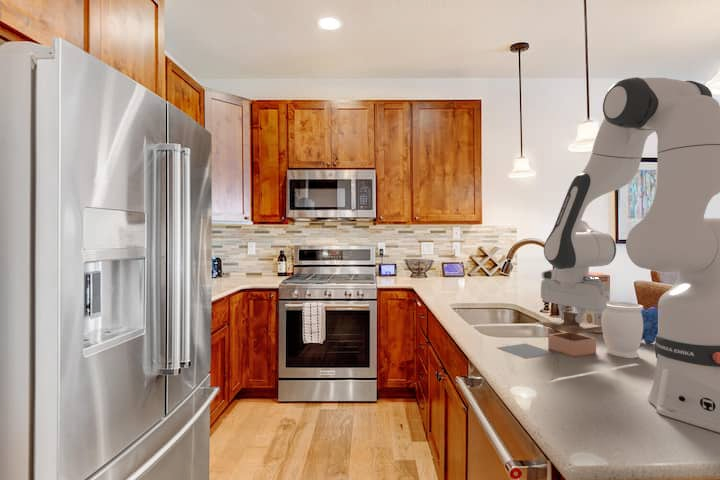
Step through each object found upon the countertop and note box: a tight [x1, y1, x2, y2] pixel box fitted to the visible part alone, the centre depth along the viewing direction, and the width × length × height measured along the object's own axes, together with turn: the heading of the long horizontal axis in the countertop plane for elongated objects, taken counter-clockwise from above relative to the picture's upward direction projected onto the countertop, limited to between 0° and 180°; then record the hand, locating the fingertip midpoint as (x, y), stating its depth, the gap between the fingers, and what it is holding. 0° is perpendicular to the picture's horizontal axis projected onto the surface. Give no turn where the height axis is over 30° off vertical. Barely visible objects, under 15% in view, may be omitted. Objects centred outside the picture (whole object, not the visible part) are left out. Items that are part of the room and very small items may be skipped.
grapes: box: [641, 306, 658, 345], centre depth 133 cm, size 12×7×12 cm, turn 49°
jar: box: [601, 301, 644, 359], centre depth 121 cm, size 11×10×15 cm
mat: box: [497, 343, 558, 360], centre depth 124 cm, size 12×12×1 cm
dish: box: [547, 331, 597, 358], centre depth 123 cm, size 9×9×5 cm
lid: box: [542, 310, 601, 334], centre depth 123 cm, size 11×11×5 cm
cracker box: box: [574, 271, 611, 334], centre depth 153 cm, size 14×6×21 cm, turn 179°
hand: (571, 321), depth 123 cm, fingers closed on lid, 3 cm apart
